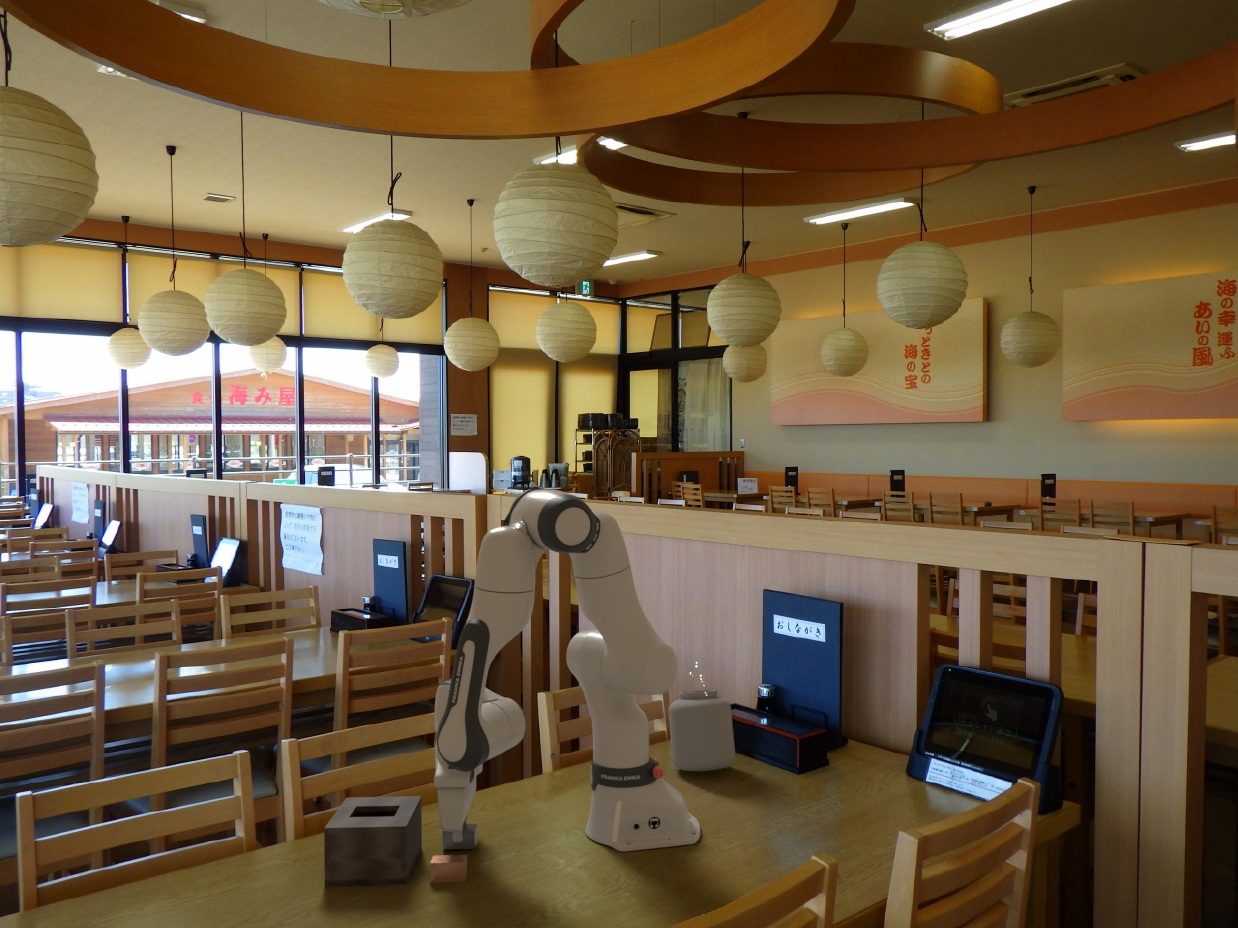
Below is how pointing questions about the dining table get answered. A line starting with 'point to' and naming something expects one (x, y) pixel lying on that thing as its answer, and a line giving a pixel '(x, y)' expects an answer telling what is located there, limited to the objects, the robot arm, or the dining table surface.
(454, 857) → the pink rectangular block
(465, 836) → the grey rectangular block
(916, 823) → the dining table surface
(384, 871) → the tip box
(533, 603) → the robot arm
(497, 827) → the dining table surface
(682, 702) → the jar
